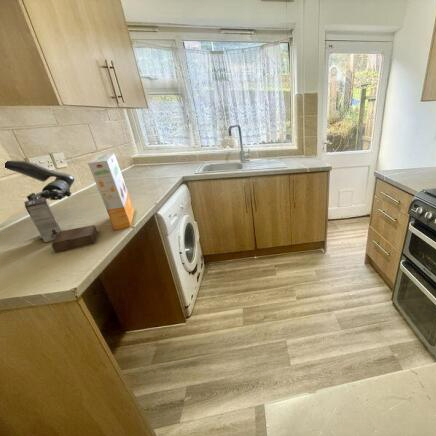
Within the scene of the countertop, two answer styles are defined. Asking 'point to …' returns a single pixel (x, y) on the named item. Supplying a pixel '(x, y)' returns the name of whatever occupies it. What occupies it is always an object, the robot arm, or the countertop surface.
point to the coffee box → (43, 218)
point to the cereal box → (112, 189)
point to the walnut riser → (75, 238)
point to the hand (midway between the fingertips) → (46, 199)
